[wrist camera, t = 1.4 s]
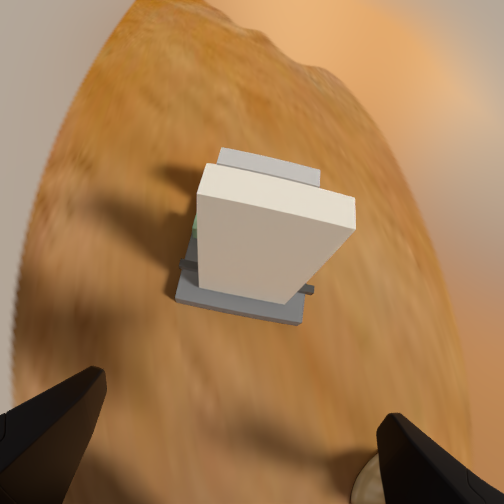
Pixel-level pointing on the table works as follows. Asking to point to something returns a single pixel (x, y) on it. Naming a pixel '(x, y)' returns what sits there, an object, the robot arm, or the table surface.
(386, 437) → the robot arm
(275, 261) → the cream block
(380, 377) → the table surface
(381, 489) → the hand bell
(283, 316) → the gauge base
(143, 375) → the table surface
